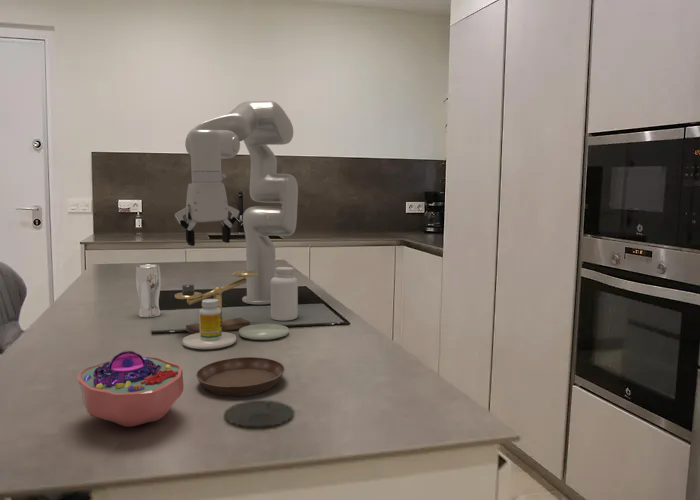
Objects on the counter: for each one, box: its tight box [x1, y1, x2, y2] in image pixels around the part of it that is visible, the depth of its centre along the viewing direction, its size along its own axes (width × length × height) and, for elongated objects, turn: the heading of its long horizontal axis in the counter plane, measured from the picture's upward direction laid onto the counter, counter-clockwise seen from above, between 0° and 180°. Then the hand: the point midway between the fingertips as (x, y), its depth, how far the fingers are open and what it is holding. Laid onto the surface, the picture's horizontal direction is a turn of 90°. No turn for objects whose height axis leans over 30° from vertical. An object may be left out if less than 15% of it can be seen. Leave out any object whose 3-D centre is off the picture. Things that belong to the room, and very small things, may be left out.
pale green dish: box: [238, 323, 290, 341], centre depth 158 cm, size 13×13×1 cm
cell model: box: [77, 350, 184, 428], centre depth 103 cm, size 17×20×11 cm
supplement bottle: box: [198, 298, 223, 341], centre depth 149 cm, size 5×5×10 cm
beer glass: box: [135, 263, 162, 319], centre depth 178 cm, size 7×7×15 cm
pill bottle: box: [270, 266, 299, 322], centre depth 176 cm, size 8×8×15 cm
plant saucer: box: [195, 356, 286, 397], centre depth 122 cm, size 18×18×3 cm
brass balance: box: [174, 270, 258, 335], centre depth 163 cm, size 23×7×15 cm, turn 125°
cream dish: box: [182, 331, 237, 351], centre depth 150 cm, size 13×13×1 cm
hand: (209, 243), depth 158 cm, fingers open, 9 cm apart
